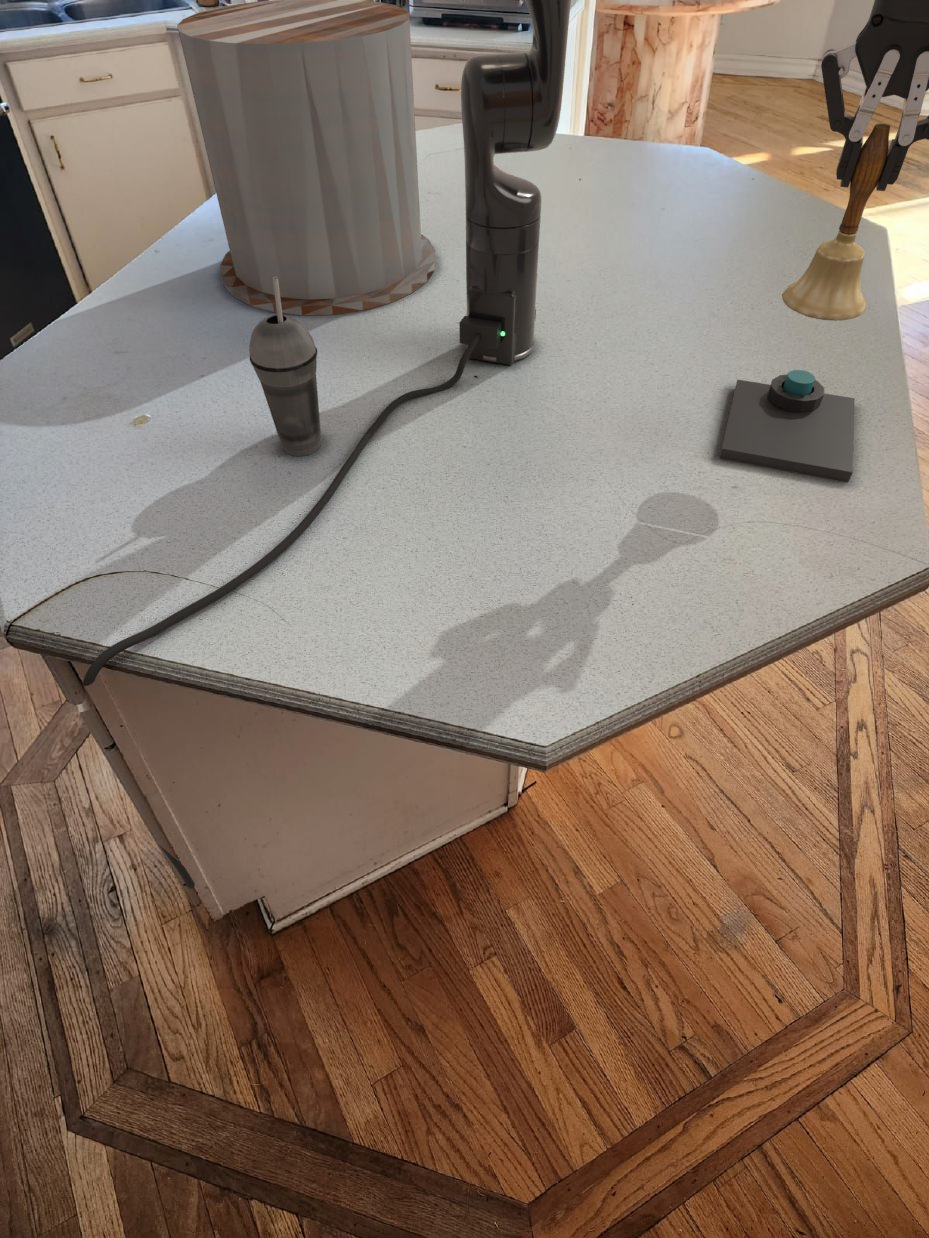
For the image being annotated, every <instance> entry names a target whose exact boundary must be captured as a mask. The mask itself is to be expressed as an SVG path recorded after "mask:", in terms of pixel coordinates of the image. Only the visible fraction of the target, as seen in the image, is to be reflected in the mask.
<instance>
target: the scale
mask: <svg viewBox="0 0 929 1238" xmlns="http://www.w3.org/2000/svg"><path fill="white" fill-rule="evenodd" d="M787 374H788V373H786V374H780V375H778V376H776V377H774V378H772V380H771V383H770V384H769V383H768V384H767V383H762V382H757V381H750V380H744V379H737V380H736V383H735V386H734V392H733V396H732V400H731V404H730V409H729V413H728V418H727V421H726V426H725V431H724V435H723V439H722V444H721V449H720V452H719V456H718V459H721V460H726V461H732V462H735V463H736V462H737V463H743V464H747V465H753V466H759V467H763V468H769V469H775V470H781V471H786V472H791V473H796V474H802V475H807V476H813V477H819V478H823V479H828V480H833V481H840V482H844V483H849V481H850V480H851V478H852V476H853V473H854V438H855V436H854V435H855V432H854V431H855V400H856V399H855V397H849V396H842V395H838V394H837V395H836V394H831V393H825V387H824V386H823V385H822V384H821V383H820V382H819V381H818V380H817V379H815V382H814V384H813V387H812V390H811V392H810V394H809V395H802V396H801V395H795V394H791V393H789V392H786V391H785V390H784V388H783V386H784V383H785V380H786V377H787Z"/></svg>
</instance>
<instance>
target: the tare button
mask: <svg viewBox="0 0 929 1238" xmlns="http://www.w3.org/2000/svg"><path fill="white" fill-rule="evenodd" d="M786 374H787V377H786V380H785V383H784V386H783V388H784V390H785V391H786V392H789V393H791V394H795V395H801V396H802V395H809V394H810V392H811V390H812V387H813V384H814V382H815V380H816V377H815V375H814V374H813V373H812V372H809V371H806V370H802V369H794V370H790V371H789V372H788V373H786Z"/></svg>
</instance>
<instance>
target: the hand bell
mask: <svg viewBox="0 0 929 1238" xmlns="http://www.w3.org/2000/svg"><path fill="white" fill-rule="evenodd" d="M890 130H891V125H889V124H887V123H876V124H875V125H874V127H873V128H872V130H871V132H870V134H869V135H868V136H867V138H866V140H865V141H864V142H863V144H862V147H861V150H860V153H859V157H858V160H857V163H856V166H855V169H854V172H853V175H852V178H851V181H850V184H849V196H848V197H849V198H848V201H847V202H848V203H847V206H846V208H845V211H844V214H843V217H842V220H841V223H840V225H839V227H838V233H837V235H836V237H835V238H834V239H832V240H827V241H824V242H822V243H821V244H819V246H818V247H817V249H816V251H815V253H814V255H813V257H812V259H811V261H810V263H809V265H808V267H807V269H806V270H805V271H804V272H803V274H802V275H801V276H800V277H799V278H798V279H797V280H796V281H795V282H792V283H791V284H789V285H788V286H787V287H786V288H785V289H784V290H783V291H782V294H781V299H782V303H784V305H785V306H786V307H787V308H788V309H790V310H792V311H793V312H796V313H797V314H800V315H802V316H804V317H807V318H811V319H815V320H820V321H821V320H822V321H831V322H833V321H834V322H837V321H848V320H853V319H856V318H859V317H860V316H862V315H863V314H864V313H865V312H866V311H867V300H866V297H865V295H864V294H863V293H862V289H861V274H862V269H863V264H864V261H865V260H864V259H865V255H866V252H865V250H864V248H863V247H862V246H860V245H859V244H857V242H856V239H857V235H858V230H859V227H860V223H861V220H862V217H863V214H864V210H865V208H866V205H867V203H868V200H869V199H870V198H871V195H872V193H874V191H875V190H876V186H877V184H878V182H879V180H880V177H881V175H882V172H883V170H884V167H885V164H886V161H887V156H888V149H889V146H890V143H889V142H890Z"/></svg>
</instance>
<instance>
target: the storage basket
mask: <svg viewBox="0 0 929 1238" xmlns="http://www.w3.org/2000/svg"><path fill="white" fill-rule="evenodd" d="M410 20H411V19H410V12H409V11H408V10H406V9H404V8H403V7H400V6H397V5H393V4H392V3H391V4H390V3H386V2H379V1H373V0H261V1H252V2H244V3H237V4H232V5H226V6H220V7H214V8H211V9H208V10H204V11H200V12H196V13H194V14H192V15H190V16H187V17H184V18H182V19H181V21H179V22H178V24H177V31H178V35H179V39H180V40H179V41H180V45H181V48H182V53H183V57H184V60H185V65H186V69H187V74H188V78H189V82H190V86H191V91H192V95H193V99H194V103H195V108H196V112H197V116H198V122H199V126H200V129H201V133H202V137H203V142H204V145H205V146H204V147H205V151H206V155H207V158H208V163H209V168H210V172H211V176H212V181H213V185H214V189H215V193H216V198H217V203H218V207H219V211H220V214H221V219H222V223H223V227H224V232H225V236H226V241H227V245H228V251H227V252H225V254H224V257H223V258H222V261H221V263H220V265H219V267H220V274H221V280H222V283H223V287H224V288H225V289H226V290H227V291H228V292H229V293H230V295H231V296H232V297H234V298H235V299H237V300H239V301H241V302H243V303H245V304H246V305H248V306H250V307H254V308H257V309H261V310H264V311H268V312H272V313H277V309H276V301H275V293H274V284H273V277H277V278H278V283H279V291H280V299H281V307H282V314H285V315H297V316H325V315H326V316H332V315H333V316H334V315H340V314H348V313H356V312H361V311H363V312H364V311H366V310H371V309H374V308H377V307H381V306H384V305H388V304H392V303H393V302H396V301H398V300H401V299H403V298H405V297H407V296H409V295H412V294H413V293H415V292H416V291H417V290H419V289H420V288H422V287H423V286H424V285H425V284H427V283H428V282H429V280H430V279H431V277H432V276H433V274H434V273H435V272H436V258H437V256H436V249H435V247H434V246H433V244H432V242H431V240H430V239H429V238H428V237H426V236H424V235H423V234H422V229H421V227H422V226H421V210H420V209H421V208H420V189H419V171H418V169H419V168H418V151H417V150H418V149H417V134H416V118H415V115H416V114H415V98H414V96H415V95H414V79H413V78H414V77H413V63H412V62H413V61H412V59H413V57H412V42H411V41H412V39H411V27H410V26H411V23H410Z"/></svg>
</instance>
